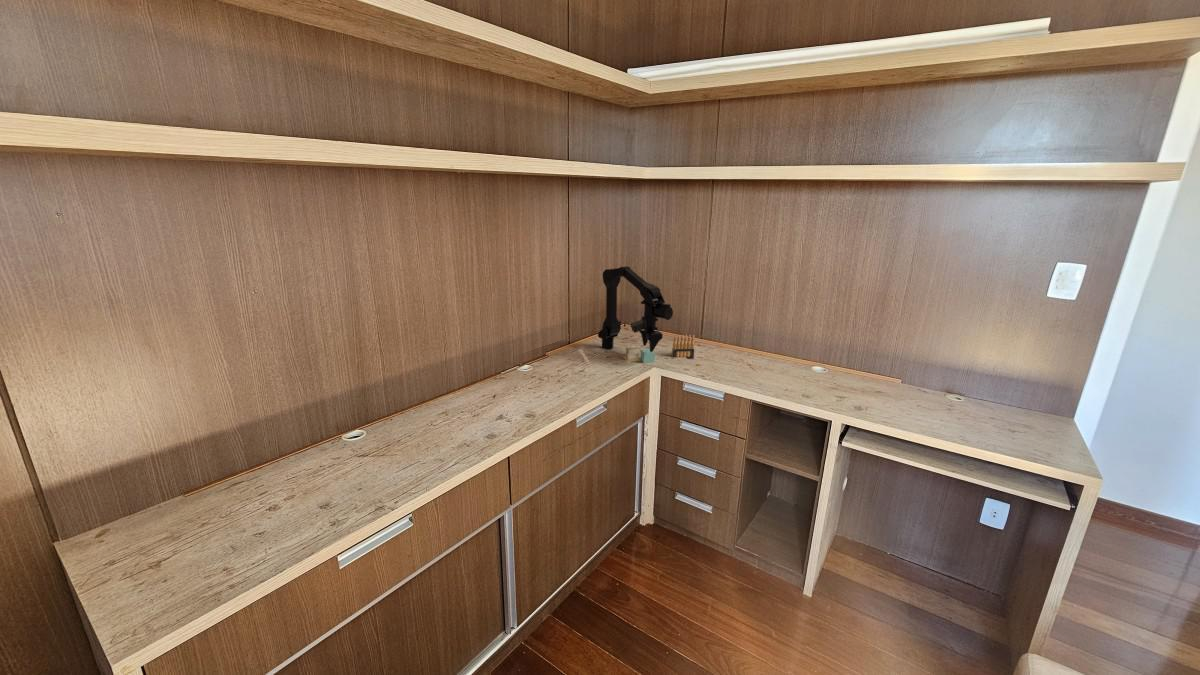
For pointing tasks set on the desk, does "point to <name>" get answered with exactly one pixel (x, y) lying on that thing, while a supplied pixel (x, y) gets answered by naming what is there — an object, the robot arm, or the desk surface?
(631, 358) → the maple block
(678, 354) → the ammunition clip
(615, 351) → the desk surface
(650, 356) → the teal block
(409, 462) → the desk surface
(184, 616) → the desk surface
